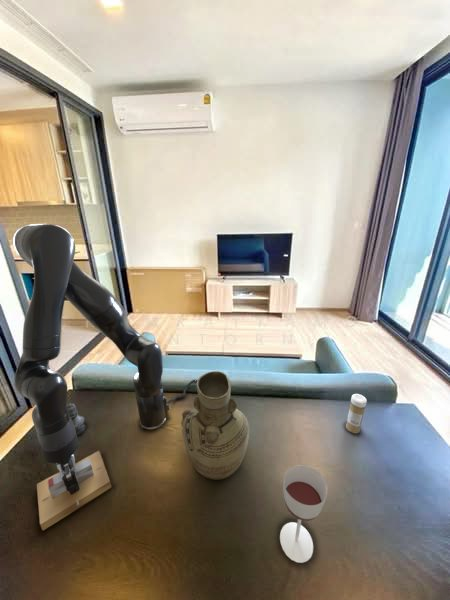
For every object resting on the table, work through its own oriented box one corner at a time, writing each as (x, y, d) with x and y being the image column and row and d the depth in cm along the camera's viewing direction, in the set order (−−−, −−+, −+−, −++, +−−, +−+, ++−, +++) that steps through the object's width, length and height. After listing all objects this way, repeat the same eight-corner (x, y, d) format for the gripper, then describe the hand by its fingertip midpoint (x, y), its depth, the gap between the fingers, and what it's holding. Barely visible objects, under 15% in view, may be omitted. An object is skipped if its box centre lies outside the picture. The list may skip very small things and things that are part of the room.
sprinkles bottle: (361, 428, 87) (369, 398, 83) (356, 436, 85) (364, 405, 80) (348, 421, 91) (354, 391, 86) (343, 428, 88) (349, 398, 83)
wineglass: (273, 523, 62) (278, 466, 55) (307, 519, 62) (317, 463, 55) (283, 566, 54) (290, 507, 47) (321, 561, 55) (335, 502, 48)
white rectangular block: (92, 467, 73) (89, 457, 71) (94, 474, 71) (91, 463, 69) (51, 491, 67) (47, 479, 65) (52, 498, 65) (48, 487, 63)
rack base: (99, 453, 79) (98, 447, 79) (112, 490, 69) (111, 484, 68) (38, 486, 70) (36, 480, 69) (43, 535, 60) (40, 528, 59)
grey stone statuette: (77, 438, 85) (69, 411, 81) (63, 435, 86) (54, 408, 82) (89, 424, 90) (82, 398, 86) (75, 422, 91) (68, 395, 87)
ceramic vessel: (205, 422, 91) (201, 351, 80) (258, 449, 80) (262, 371, 70) (168, 465, 76) (158, 385, 65) (228, 505, 65) (227, 418, 55)
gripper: (80, 448, 60) (94, 494, 66) (70, 412, 70) (82, 455, 76) (42, 468, 56) (61, 515, 61) (38, 426, 66) (54, 470, 72)
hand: (73, 481), depth 69 cm, fingers closed on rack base, 5 cm apart
